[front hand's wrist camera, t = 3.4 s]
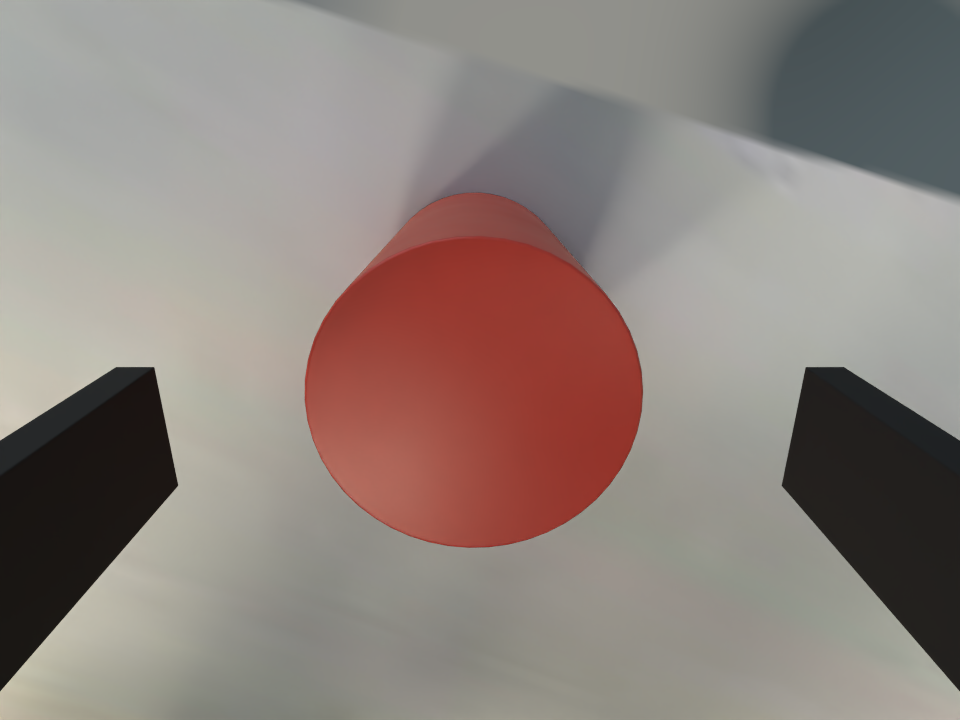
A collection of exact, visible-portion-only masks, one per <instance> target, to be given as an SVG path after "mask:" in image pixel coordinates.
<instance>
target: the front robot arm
mask: <svg viewBox="0 0 960 720" xmlns="http://www.w3.org/2000/svg"><path fill="white" fill-rule="evenodd" d="M177 486H178V482H177V477H176V473H175V468H174V463H173V458H172V453H171V448H170V443H169V438H168V433H167V428H166V423H165V418H164V413H163V408H162V403H161V399H160V394H159V389H158V384H157V379H156V374H155V369H154V367H116V368H114V369H113V370H111V371H109V372H108V373H106V374H105V375H103V376H102V377H100V378H98V379H97V380H95V381H94V382H92V383H91V384H89V385H87V386H86V387H84V388H83V389H81V390H79V391H78V392H76V393H75V394H73V395H72V396H70V397H68V398H67V399H65V400H64V401H62V402H61V403H59V404H57V405H56V406H54V407H53V408H51V409H49V410H48V411H46V412H45V413H43V414H42V415H40V416H38V417H37V418H35V419H34V420H32V421H31V422H29V423H27V424H26V425H24V426H23V427H21V428H19V429H18V430H16V431H15V432H13V433H12V434H10V435H8V436H7V437H5V438H4V439H2V440H1V441H0V691H1V690H2V689H3V687H4V686H5V685H6V684H7V683H8V682H9V680H10V679H11V678H12V677H13V676H14V675H15V674H16V672H17V671H18V670H19V669H20V668H21V667H22V665H23V664H24V663H25V662H26V661H27V660H28V659H29V657H30V656H31V655H32V654H33V653H34V652H35V650H36V649H37V648H38V647H39V646H40V645H41V644H42V642H43V641H44V640H45V639H46V638H47V637H48V635H49V634H50V633H51V632H52V631H53V630H54V628H55V627H56V626H57V625H58V624H59V623H60V622H61V620H62V619H63V618H64V617H65V616H66V615H67V613H68V612H69V611H70V610H71V609H72V608H73V607H74V605H75V604H76V603H77V602H78V601H79V600H80V598H81V597H82V596H83V595H84V594H85V593H86V592H87V590H88V589H89V588H90V587H91V586H92V585H93V583H94V582H95V581H96V580H97V579H98V578H99V576H100V575H101V574H102V573H103V572H104V571H105V570H106V568H107V567H108V566H109V565H110V564H111V563H112V561H113V560H114V559H115V558H116V557H117V556H118V555H119V553H120V552H121V551H122V550H123V549H124V548H125V546H126V545H127V544H128V543H129V542H130V541H131V540H132V538H133V537H134V536H135V535H136V534H137V533H138V531H139V530H140V529H141V528H142V527H143V526H144V524H145V523H146V522H147V521H148V520H149V519H150V518H151V516H152V515H153V514H154V513H155V512H156V511H157V509H158V508H159V507H160V506H161V505H162V504H163V503H164V501H165V500H166V499H167V498H168V497H169V496H170V494H171V493H172V492H173V491H174V490H175V489H176V488H177ZM782 486H783V488H784V489H785V490H786V491H787V492H788V493H789V494H790V496H791V497H792V498H793V499H794V500H795V501H796V503H797V504H798V505H799V506H800V507H801V508H802V509H803V511H804V512H805V513H806V514H807V515H808V516H809V518H810V519H811V520H812V521H813V522H814V523H815V524H816V526H817V527H818V528H819V529H820V530H821V531H822V533H823V534H824V535H825V536H826V537H827V538H828V540H829V541H830V542H831V543H832V544H833V545H834V546H835V548H836V549H837V550H838V551H839V552H840V553H841V555H842V556H843V557H844V558H845V559H846V560H847V561H848V563H849V564H850V565H851V566H852V567H853V568H854V570H855V571H856V572H857V573H858V574H859V575H860V576H861V578H862V579H863V580H864V581H865V582H866V583H867V585H868V586H869V587H870V588H871V589H872V590H873V592H874V593H875V594H876V595H877V596H878V597H879V598H880V600H881V601H882V602H883V603H884V604H885V605H886V607H887V608H888V609H889V610H890V611H891V612H892V613H893V615H894V616H895V617H896V618H897V619H898V620H899V622H900V623H901V624H902V625H903V626H904V627H905V628H906V630H907V631H908V632H909V633H910V634H911V635H912V637H913V638H914V639H915V640H916V641H917V642H918V644H919V645H920V646H921V647H922V648H923V649H924V650H925V652H926V653H927V654H928V655H929V656H930V657H931V659H932V660H933V661H934V662H935V663H936V664H937V665H938V667H939V668H940V669H941V670H942V671H943V672H944V674H945V675H946V676H947V677H948V678H949V679H950V680H951V682H952V683H953V684H954V685H955V686H956V687H957V689H958V690H959V691H960V441H959V440H958V439H956V438H955V437H953V436H952V435H950V434H948V433H947V432H945V431H944V430H942V429H941V428H939V427H937V426H936V425H934V424H933V423H931V422H929V421H928V420H926V419H925V418H923V417H922V416H920V415H918V414H917V413H915V412H914V411H912V410H911V409H909V408H907V407H906V406H904V405H903V404H901V403H899V402H898V401H896V400H895V399H893V398H892V397H890V396H888V395H887V394H885V393H884V392H882V391H881V390H879V389H877V388H876V387H874V386H873V385H871V384H869V383H868V382H866V381H865V380H863V379H862V378H860V377H858V376H857V375H855V374H854V373H852V372H851V371H849V370H847V369H846V368H844V367H806V369H805V374H804V379H803V384H802V389H801V394H800V399H799V403H798V408H797V413H796V418H795V423H794V428H793V433H792V438H791V443H790V448H789V453H788V458H787V463H786V468H785V473H784V477H783V482H782Z"/></svg>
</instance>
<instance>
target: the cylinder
mask: <svg viewBox="0 0 960 720" xmlns="http://www.w3.org/2000/svg"><path fill="white" fill-rule="evenodd" d="M642 398H643V385H642V371H641V366H640V362H639V357H638V353H637V349H636V346H635V344H634V341H633V338H632V336H631V333H630V331H629V329H628V327H627V325H626V323H625V321H624V320H623V318H622V316H621V314H620V312H619V311H618V310H617V308H616V307H615V306H614V304H613V303H612V302H611V300H610V299H609V298H608V296H607V295H606V294H605V293H604V291H603V290H602V289H601V288H600V287H599V286H598V285H597V283H596V282H595V281H594V280H593V279H592V278H591V277H590V275H589V274H588V273H587V272H586V271H585V270H584V269H583V267H582V266H581V265H580V264H579V263H578V262H577V261H576V259H575V258H574V257H573V256H572V255H571V254H570V253H569V251H568V250H567V249H566V248H565V247H564V246H563V245H562V243H561V242H560V241H559V240H558V239H557V238H556V237H555V235H554V234H553V233H552V232H551V231H550V230H549V229H548V227H547V226H546V225H545V224H544V223H543V222H542V221H541V220H540V219H539V218H538V217H537V216H536V215H535V214H533V213H532V212H531V211H529V210H528V209H527V208H525V207H524V206H522V205H520V204H518V203H516V202H515V201H512V200H509V199H507V198H504V197H501V196H497V195H493V194H486V193H463V194H457V195H452V196H449V197H446V198H443V199H440V200H438V201H436V202H434V203H432V204H430V205H428V206H427V207H425V208H423V209H422V210H420V211H419V212H418V213H417V214H416V215H414V216H413V217H412V218H411V219H410V220H409V221H408V222H407V223H406V224H405V225H404V226H403V228H402V229H401V230H400V231H399V232H398V233H397V234H396V235H395V236H394V237H393V238H392V240H391V241H390V242H389V243H388V244H387V245H386V246H385V247H384V248H383V249H382V251H381V252H380V253H379V254H378V255H377V256H376V257H375V258H374V259H373V260H372V261H371V263H370V264H369V265H368V266H367V267H366V268H365V269H364V270H363V271H362V272H361V274H360V275H359V276H358V277H357V278H356V279H355V280H354V281H353V282H352V283H351V284H350V286H349V287H348V288H347V289H346V290H345V291H344V292H343V293H342V295H341V296H340V297H339V298H338V299H337V300H336V301H335V303H334V304H333V306H332V307H331V309H330V310H329V312H328V313H327V315H326V316H325V318H324V320H323V322H322V324H321V326H320V328H319V330H318V332H317V334H316V336H315V339H314V342H313V345H312V348H311V351H310V355H309V358H308V363H307V370H306V376H305V405H306V413H307V420H308V424H309V427H310V431H311V435H312V438H313V441H314V443H315V446H316V448H317V450H318V453H319V455H320V457H321V459H322V461H323V463H324V464H325V466H326V468H327V469H328V471H329V473H330V474H331V476H332V477H333V478H334V480H335V481H336V482H337V483H338V485H339V486H340V487H341V489H342V490H343V491H344V492H345V493H346V494H347V495H348V496H349V497H350V498H351V499H352V500H353V501H354V502H355V503H356V504H357V505H358V506H360V507H361V508H362V509H363V510H365V511H366V512H367V513H369V514H370V515H371V516H373V517H374V518H376V519H377V520H379V521H381V522H382V523H384V524H386V525H387V526H389V527H391V528H393V529H395V530H397V531H400V532H402V533H404V534H406V535H409V536H411V537H414V538H418V539H421V540H424V541H427V542H431V543H436V544H441V545H446V546H455V547H467V548H472V547H493V546H500V545H508V544H512V543H516V542H520V541H524V540H528V539H531V538H533V537H536V536H539V535H541V534H544V533H547V532H549V531H551V530H553V529H555V528H557V527H558V526H560V525H562V524H564V523H566V522H567V521H569V520H570V519H572V518H573V517H575V516H576V515H578V514H579V513H581V512H582V511H583V510H584V509H586V508H587V507H588V506H589V505H590V504H591V503H593V502H594V501H595V500H596V499H597V498H598V497H599V496H600V495H601V494H602V493H603V491H604V490H605V489H606V488H607V487H608V486H609V485H610V483H611V482H612V481H613V479H614V478H615V476H616V475H617V474H618V472H619V471H620V469H621V468H622V466H623V464H624V462H625V460H626V458H627V456H628V454H629V452H630V450H631V447H632V445H633V442H634V439H635V436H636V434H637V431H638V426H639V421H640V417H641V412H642Z"/></svg>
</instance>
